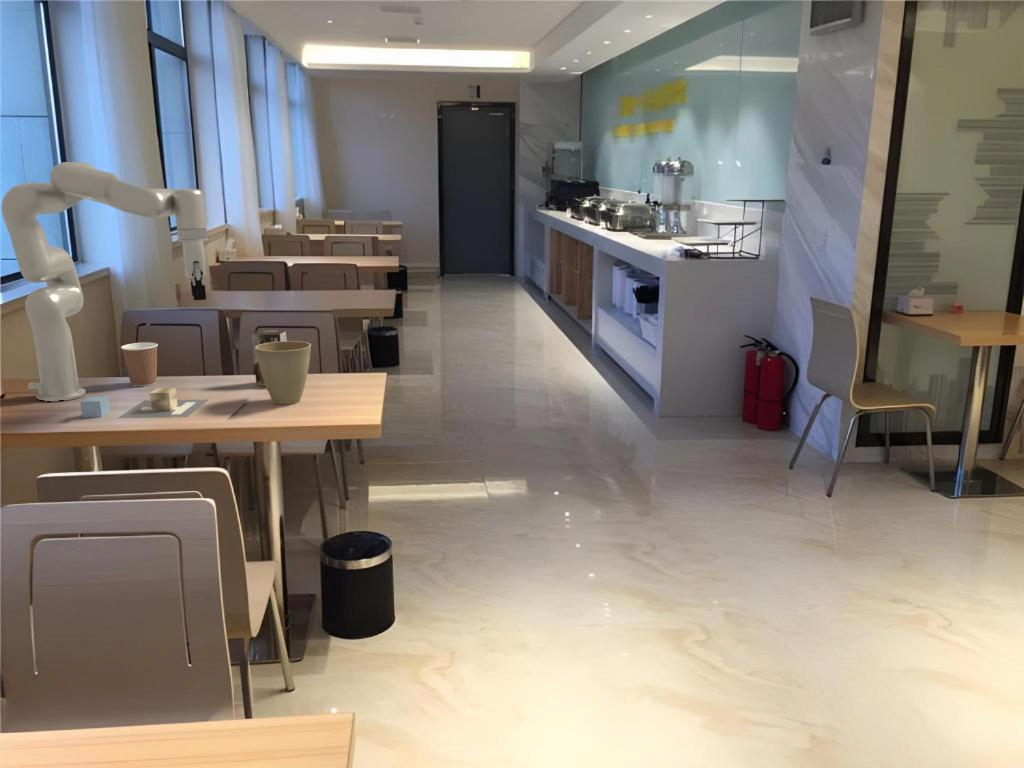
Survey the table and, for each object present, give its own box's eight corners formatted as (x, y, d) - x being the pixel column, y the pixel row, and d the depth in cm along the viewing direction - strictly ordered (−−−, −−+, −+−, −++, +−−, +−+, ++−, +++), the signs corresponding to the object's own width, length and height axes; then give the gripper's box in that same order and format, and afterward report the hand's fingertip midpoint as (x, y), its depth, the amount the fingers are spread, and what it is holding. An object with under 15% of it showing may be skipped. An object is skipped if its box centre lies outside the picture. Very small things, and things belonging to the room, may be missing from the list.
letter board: (117, 420, 216) (116, 418, 216) (144, 402, 234) (144, 400, 233) (187, 419, 217) (186, 417, 216) (209, 401, 234) (209, 399, 234)
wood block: (151, 411, 222) (149, 392, 221) (159, 406, 227) (157, 388, 226) (170, 410, 223) (168, 392, 221) (177, 405, 227) (175, 388, 226)
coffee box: (292, 381, 256) (288, 329, 253) (284, 386, 250) (280, 333, 246) (263, 381, 257) (259, 329, 253) (255, 386, 251) (250, 333, 247)
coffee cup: (139, 379, 261) (135, 341, 258) (169, 380, 259) (164, 342, 256) (118, 387, 251) (113, 348, 248) (148, 388, 249) (144, 349, 246)
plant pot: (305, 408, 226) (301, 351, 222) (251, 408, 227) (246, 350, 223) (321, 394, 240) (317, 340, 237) (270, 394, 241) (266, 340, 237)
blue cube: (82, 420, 217) (80, 401, 216) (91, 414, 222) (89, 396, 221) (102, 419, 217) (99, 401, 216) (110, 414, 222) (108, 396, 221)
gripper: (176, 234, 234) (183, 295, 238) (178, 237, 218) (186, 302, 222) (205, 233, 236) (211, 293, 241) (209, 236, 221) (215, 300, 225)
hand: (199, 297), depth 231 cm, fingers open, 9 cm apart
